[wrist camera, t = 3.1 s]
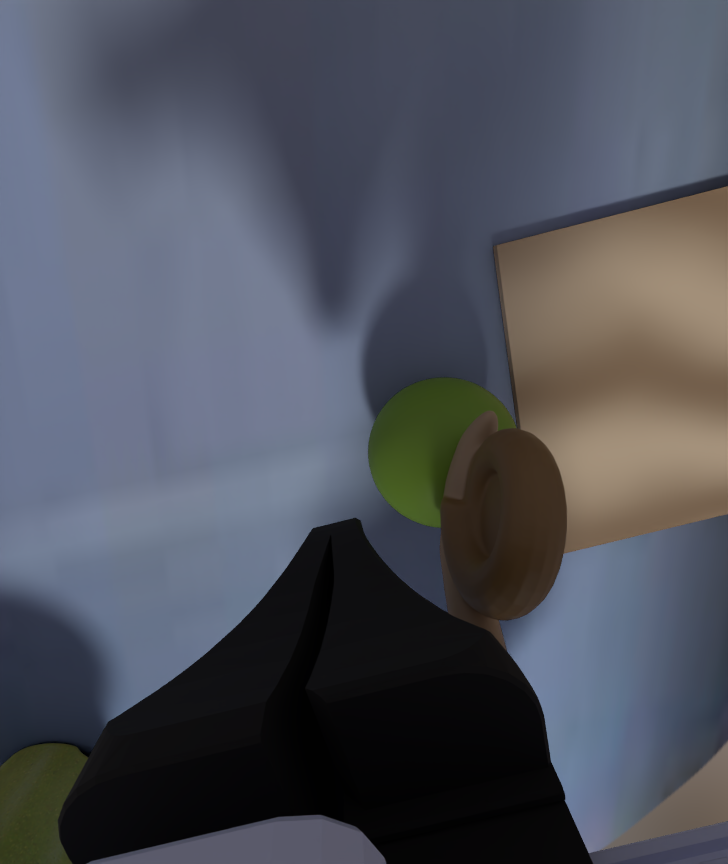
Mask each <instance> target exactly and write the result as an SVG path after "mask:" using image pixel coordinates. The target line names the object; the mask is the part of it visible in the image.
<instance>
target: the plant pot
mask: <svg viewBox="0 0 728 864" xmlns="http://www.w3.org/2000/svg"><path fill="white" fill-rule="evenodd" d="M88 758H89V757H87V756H85V755H84V754H82V753H81V752H80V750H79V749H78V748H77V747H76V746H73V745H68V744H60V743H46V744H39V745H34V746H30V747H27V748H24V749H22V750H20V751H18V752H17V753H15V754H14V755H13V756H11V757H10V758H9V759H8V760H7V761H6V762H5V763H4V764H3V765H1V767H0V864H72V862H71V861H70V859H69V858H68V856H67V854H66V852H65V850H64V848H63V846H62V844H61V842H60V839H59V831H58V818H59V815H60V812H61V809H62V806H63V803H64V802H65V800H66V798H67V796H68V794H69V792H70V791H71V789H72V787H73V785H74V783H75V781H76V780H77V778H78V776H79V774H80V772H81V770H82V769H83V767H84V765H85V763H86V761H87V759H88Z"/></svg>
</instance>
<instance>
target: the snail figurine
mask: <svg viewBox="0 0 728 864" xmlns="http://www.w3.org/2000/svg"><path fill="white" fill-rule="evenodd" d="M368 458H369V466H370V470H371V474H372V477H373V479H374V482H375V484H376V486H377V488H378V490H379V491H380V493H381V494H382V496H383V497H384V499H385V500H386V501H387V502H388V503H389V504H390V505H391V506H392V507H393V508H394V509H395V510H396V511H398V512H399V513H400V514H402V515H403V516H405V517H407V518H408V519H410V520H412V521H415V522H417V523H420V524H423V525H426V526H431V527H438V528H441V537H440V559H441V566H442V573H443V581H444V590H445V596H446V602H447V609H448V613H449V614H451V615H453V616H454V617H456V618H459V619H461V620H464V621H466V622H469V623H471V624H474V625H476V626H478V627H481V628H483V629H486V630H488V631H490V632H491V633H492V634H493V635H494V637H495V638H496V639H497V640H498V641H499V643H500V644H501V645H502V646H503V647H504V649H505V650H506V651H507V649H506V645H505V642H504V638H503V634H502V630H501V627H500V623H499V620H512V619H517V618H520V617H522V616H524V615H527V614H528V613H530V612H531V611H532V610H533V609H535V608H536V607H537V606H538V605H539V604H540V603H541V602H542V601H543V600H544V599H545V597H546V596H547V594H548V593H549V591H550V590H551V588H552V586H553V584H554V582H555V579H556V577H557V574H558V572H559V569H560V566H561V562H562V558H563V553H564V549H565V542H566V533H567V504H566V496H565V489H564V485H563V481H562V477H561V474H560V470H559V468H558V466H557V463H556V461H555V459H554V457H553V455H552V453H551V452H550V450H549V449H548V448H547V446H546V445H545V444H544V443H543V442H542V441H541V440H540V439H539V438H537V437H536V436H535V435H534V434H532V433H530V432H527V431H524V430H521V429H518V428H516V425H515V423H514V421H513V419H512V417H511V415H510V413H509V412H508V410H507V409H506V408H505V406H504V405H503V404H502V403H501V402H500V401H499V400H498V399H497V398H496V397H495V396H494V395H493V394H491V393H490V392H489V391H487V390H486V389H484V388H482V387H481V386H479V385H477V384H474V383H472V382H469V381H466V380H462V379H457V378H448V377H440V378H431V379H426V380H422V381H419V382H416V383H414V384H412V385H410V386H408V387H406V388H404V389H403V390H401V391H400V392H398V393H397V394H396V395H394V396H393V397H392V398H391V399H390V400H389V401H388V402H387V403H386V404H385V406H384V407H383V408H382V410H381V411H380V413H379V414H378V416H377V418H376V420H375V422H374V425H373V427H372V430H371V434H370V438H369V445H368Z"/></svg>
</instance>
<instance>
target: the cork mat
mask: <svg viewBox="0 0 728 864" xmlns="http://www.w3.org/2000/svg"><path fill="white" fill-rule="evenodd" d="M493 250H494V258H495V265H496V273H497V280H498V288H499V295H500V302H501V310H502V317H503V325H504V332H505V340H506V347H507V355H508V362H509V370H510V377H511V384H512V392H513V399H514V407H515V414H516V422H517V428H518V429H521V430H524V431H527V432H530V433H532V434H534V435H535V436H536V437H537V438H539V439H540V440H541V441H542V442H543V443H544V444H545V445H546V446H547V448H548V449H549V450H550V452H551V453H552V455H553V457H554V459H555V461H556V463H557V466H558V468H559V470H560V474H561V477H562V481H563V485H564V489H565V496H566V504H567V533H566V542H565V549H564V553H568V552H572V551H576V550H580V549H585V548H589V547H593V546H597V545H601V544H605V543H609V542H614V541H618V540H622V539H626V538H630V537H634V536H638V535H642V534H647V533H651V532H655V531H659V530H663V529H667V528H671V527H676V526H680V525H684V524H688V523H692V522H696V521H700V520H704V519H709V518H713V517H717V516H721V515H725V514H728V186H727V187H723V188H719V189H715V190H711V191H707V192H703V193H699V194H695V195H691V196H688V197H684V198H680V199H676V200H672V201H668V202H664V203H660V204H656V205H652V206H648V207H644V208H640V209H637V210H633V211H629V212H625V213H621V214H617V215H613V216H609V217H605V218H601V219H597V220H593V221H589V222H586V223H582V224H578V225H574V226H570V227H566V228H562V229H558V230H554V231H550V232H546V233H542V234H538V235H535V236H531V237H527V238H523V239H519V240H515V241H511V242H507V243H503V244H499V245H496V246H493ZM564 553H563V554H564Z"/></svg>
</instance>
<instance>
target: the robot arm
mask: <svg viewBox="0 0 728 864" xmlns="http://www.w3.org/2000/svg"><path fill="white" fill-rule="evenodd" d="M58 831H59V839H60V842H61V844H62V846H63V848H64V850H65V852H66V854H67V856H68V858H69V859H70V861H71V862H72V864H728V821H726V822H722V823H718V824H714V825H709V826H705V827H700V828H696V829H692V830H687V831H684V832H679V833H675V834H671V835H666V836H662V837H657V838H653V839H649V840H644V841H640V842H636V843H631V844H627V845H623V846H619V847H614V848H610V849H605V850H601V851H597V852H592V853H588V851H587V849H586V847H585V844H584V842H583V840H582V838H581V835H580V833H579V831H578V829H577V827H576V824H575V822H574V820H573V818H572V816H571V813H570V811H569V809H568V807H567V804H566V802H565V793H564V790H563V787H562V785H561V782H560V780H559V778H558V776H557V774H556V771H555V769H554V767H553V765H552V763H551V759H550V752H549V746H548V739H547V732H546V726H545V719H544V714H543V711H542V708H541V705H540V702H539V700H538V697H537V695H536V694H535V692H534V690H533V688H532V686H531V685H530V683H529V682H528V680H527V679H526V677H525V676H524V674H523V673H522V671H521V670H520V668H519V667H518V665H517V664H516V663H515V661H514V660H513V659H512V657H511V656H510V655H509V654H508V652H507V651H506V650H505V649H504V647H503V646H502V645H501V644H500V643H499V641H498V640H497V639H496V638H495V637H494V635H493V634H492V633H491V632H490V631H488V630H486V629H483V628H481V627H478V626H476V625H474V624H471V623H469V622H466V621H464V620H461V619H459V618H456V617H454V616H453V615H451V614H449V613H447V612H445V611H443V610H442V609H440V608H439V607H437V606H436V605H434V604H433V603H431V602H430V601H428V600H426V599H425V598H423V597H422V596H420V595H419V594H418V593H417V592H415V591H414V590H413V589H412V588H410V587H409V586H408V585H407V584H406V583H404V582H403V581H402V580H401V579H400V578H399V577H398V576H397V575H396V574H395V573H394V572H393V571H392V570H391V569H390V568H389V567H388V566H387V565H386V564H385V562H384V561H383V560H382V559H381V558H380V557H379V555H378V554H377V553H376V551H375V550H374V548H373V547H372V546H371V544H370V543H369V541H368V540H367V538H366V536H365V534H364V531H363V528H362V524H361V521H360V520H359V519H357V518H352V519H348V520H344V521H340V522H336V523H332V524H328V525H324V526H320V527H316V528H313V529H312V530H311V532H310V533H309V535H308V536H307V538H306V539H305V541H304V543H303V544H302V546H301V547H300V549H299V550H298V552H297V553H296V555H295V556H294V558H293V559H292V561H291V562H290V564H289V565H288V566H287V568H286V569H285V571H284V572H283V573H282V575H281V576H280V577H279V578H278V580H277V581H276V582H275V584H274V585H273V586H272V587H271V589H270V590H269V591H268V593H267V594H266V595H265V596H264V597H263V599H262V600H261V601H260V602H259V603H258V604H257V605H256V607H255V608H254V609H253V610H252V611H251V612H250V613H249V614H248V615H247V616H246V617H245V618H244V619H243V620H242V621H241V622H240V623H239V624H238V625H237V626H236V627H235V628H234V629H233V630H232V631H231V632H230V633H228V634H227V635H226V636H225V637H224V638H223V639H222V640H221V641H220V642H218V643H217V644H216V645H215V646H214V647H213V648H212V649H211V650H210V651H208V652H207V653H206V654H205V655H204V656H202V657H201V658H200V659H199V660H197V661H196V662H195V663H194V664H192V665H191V666H190V667H189V668H187V669H186V670H185V671H183V672H182V673H181V674H179V675H178V676H177V677H175V678H174V679H173V680H171V681H170V682H168V683H167V684H166V685H164V686H163V687H161V688H160V689H159V690H157V691H156V692H154V693H152V694H151V695H149V696H148V697H146V698H145V699H143V700H142V701H140V702H139V703H137V704H136V705H134V706H133V707H131V708H130V709H128V710H126V711H125V712H123V713H122V714H120V715H119V716H117V717H116V718H114V719H112V720H111V721H109V722H108V723H107V725H106V727H105V728H104V730H103V732H102V734H101V736H100V737H99V739H98V741H97V743H96V745H95V747H94V748H93V750H92V752H91V754H90V756H89V758H88V759H87V761H86V763H85V765H84V767H83V769H82V770H81V772H80V774H79V776H78V778H77V780H76V781H75V783H74V785H73V787H72V789H71V791H70V792H69V794H68V796H67V798H66V800H65V802H64V803H63V806H62V809H61V812H60V815H59V818H58Z"/></svg>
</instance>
